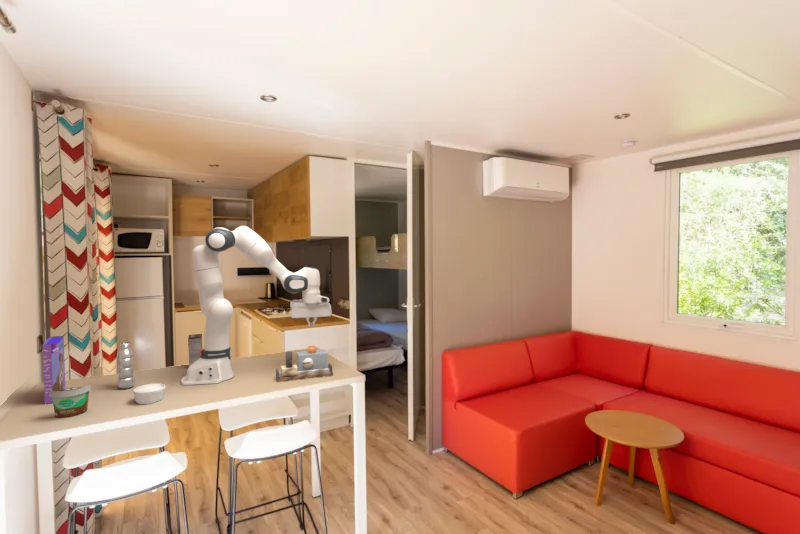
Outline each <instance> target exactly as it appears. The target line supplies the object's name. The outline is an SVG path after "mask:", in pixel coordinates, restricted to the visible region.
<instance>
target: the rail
mask: <svg viewBox="0 0 800 534" xmlns="http://www.w3.org/2000/svg"><path fill="white" fill-rule="evenodd" d="M331 375H333V376H334V373H333V365H332V364H331V363H327V368H325V369H316V370H306V371H298V373H297V375H294V376H284V377H282V373H280V370H279V368H275V378H276V382H277V383H280V382H281V381H282V382H288V381H289V380H291V381H298V380H297V379H300V380H306V379H305V378H309V379H315V378H314V377H318V378H324V377H323V376H326V377H332V376H331ZM282 382H281V383H282Z"/></svg>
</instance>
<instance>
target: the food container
mask: <svg viewBox="0 0 800 534" xmlns="http://www.w3.org/2000/svg"><path fill="white" fill-rule="evenodd" d="M91 390H92V386H91V384H90V383H88V385H86V386H79V387H70V388H68V387H67V388H65V389H64V390H60V391H52V390H51V391H50V394H49V396H50V397H52V401H53V403H52V405H53V410H54V411H53V412H54V416H55V418H56V419H57V418H58V419H67V418H72V417H76V416H80V415H82V414H84V413H86V412H87V411H88V406H89V396H90V395H89V394H90V391H91Z"/></svg>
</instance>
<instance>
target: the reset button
mask: <svg viewBox="0 0 800 534" xmlns="http://www.w3.org/2000/svg"><path fill="white" fill-rule="evenodd" d="M316 347H317V346H316V345H309V346H307V351H308V353H309V354H313V353H316V350H317V348H316Z"/></svg>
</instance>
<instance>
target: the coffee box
mask: <svg viewBox="0 0 800 534" xmlns="http://www.w3.org/2000/svg"><path fill="white" fill-rule="evenodd" d="M187 339H188V342H187V343H188V344H187V345H188V367H189V366H190V365H191V364H193V363H194V362H195V361H196V360H198V359H199V358H200V352H199V351H200V349H203V335H202V333H198V334H197V333H193V334H189V335H188V337H187Z"/></svg>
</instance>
